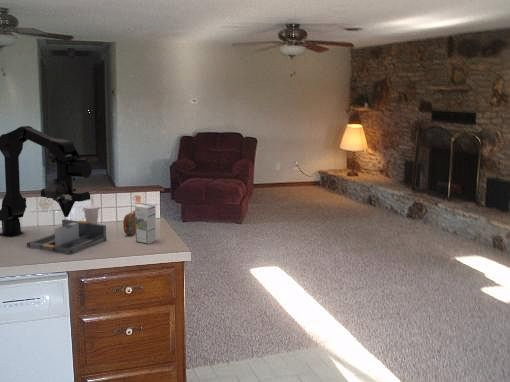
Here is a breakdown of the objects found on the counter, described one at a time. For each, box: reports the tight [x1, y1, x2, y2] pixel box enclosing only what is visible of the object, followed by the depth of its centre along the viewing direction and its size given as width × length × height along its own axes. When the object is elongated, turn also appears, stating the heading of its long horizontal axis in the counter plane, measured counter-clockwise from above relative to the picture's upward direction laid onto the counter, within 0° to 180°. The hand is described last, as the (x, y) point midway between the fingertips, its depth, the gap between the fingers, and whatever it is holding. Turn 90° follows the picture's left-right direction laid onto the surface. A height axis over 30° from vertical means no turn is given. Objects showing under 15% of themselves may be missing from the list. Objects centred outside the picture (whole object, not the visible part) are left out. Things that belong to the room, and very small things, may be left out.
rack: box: [26, 218, 107, 256], centre depth 204 cm, size 20×20×6 cm
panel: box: [54, 222, 80, 246], centre depth 204 cm, size 2×10×7 cm, turn 158°
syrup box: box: [134, 202, 157, 245], centre depth 209 cm, size 6×6×14 cm
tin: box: [122, 209, 136, 236], centre depth 222 cm, size 15×3×8 cm, turn 168°
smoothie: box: [82, 195, 100, 224], centre depth 224 cm, size 6×6×14 cm
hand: (66, 216), depth 203 cm, fingers closed
